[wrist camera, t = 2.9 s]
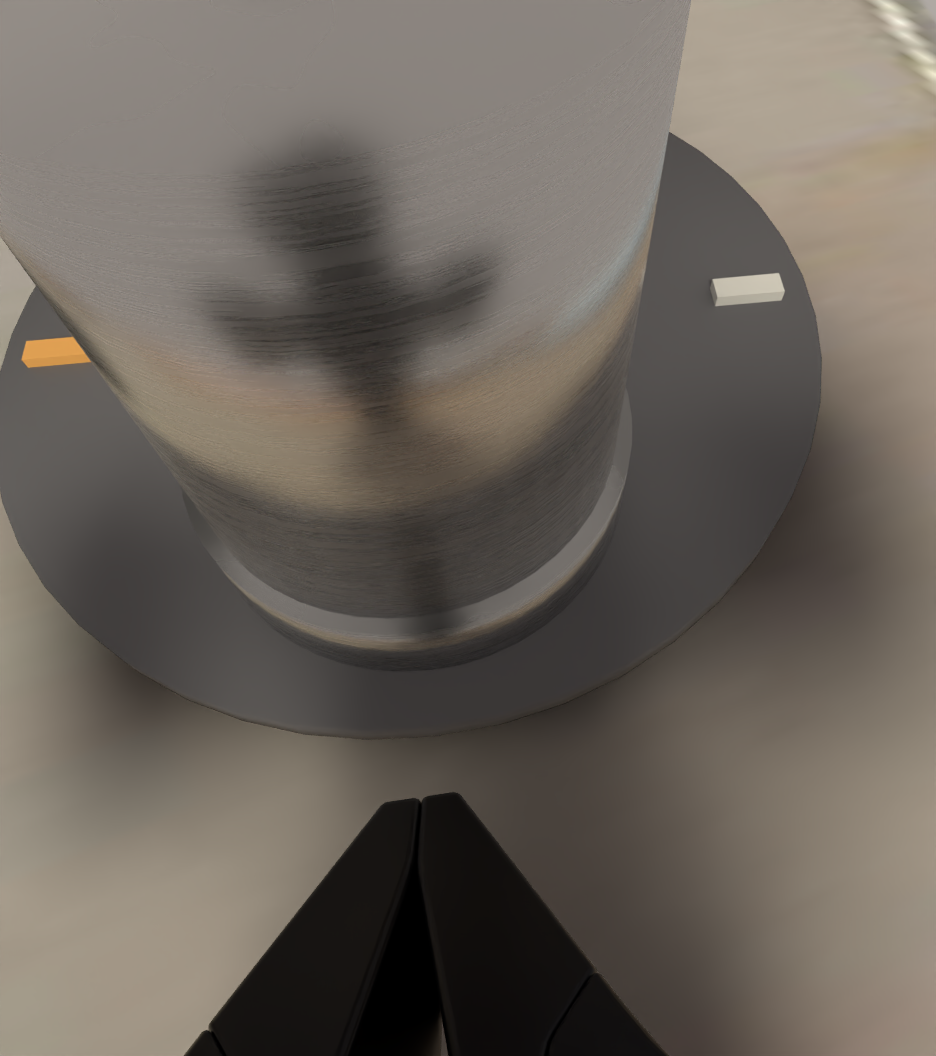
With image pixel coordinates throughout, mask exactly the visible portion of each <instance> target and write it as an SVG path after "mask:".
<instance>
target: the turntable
mask: <svg viewBox="0 0 936 1056" xmlns="http://www.w3.org/2000/svg"><path fill="white" fill-rule="evenodd" d="M821 363H822V357H821V350H820V343H819V336H818V329H817V322H816V315H815V312H814V309H813V306H812V303H811V300H810V297H809V294H808V291H807V288H806V284H805V281H804V278H803V275H802V273H801V271H800V270H799V268H798V266H797V264H796V262H795V260H794V258H793V256H792V254H791V252H790V250H789V248H788V246H787V244H786V242H785V240H784V239H783V237H782V236H781V234H780V233H779V232H778V230H777V229H776V227H775V226H774V225H773V223H772V222H771V221H770V219H769V218H768V216H767V215H766V214H765V212H764V211H763V209H762V208H761V207H760V205H759V204H758V203H757V202H756V201H755V200H754V199H753V198H752V197H751V196H750V195H749V194H748V193H747V192H746V191H745V190H744V189H743V188H742V187H741V186H740V185H739V184H738V183H737V182H736V181H735V179H734V178H733V177H732V176H730V175H729V174H728V173H727V172H725V171H724V170H723V169H722V168H720V167H719V166H718V165H717V164H715V163H714V162H713V161H712V160H710V159H709V158H708V157H707V156H705V155H704V154H703V153H702V152H700V151H699V150H697V149H696V148H694V147H693V146H691V145H689V144H688V143H686V142H685V141H683V140H681V139H680V138H678V137H677V136H675V135H673V134H672V133H670V132H669V134H668V139H667V145H666V151H665V157H664V163H663V169H662V175H661V181H660V187H659V193H658V199H657V204H656V210H655V216H654V222H653V228H652V234H651V240H650V246H649V252H648V258H647V263H646V269H645V275H644V281H643V287H642V293H641V299H640V305H639V311H638V317H637V323H636V328H635V334H634V340H633V346H632V352H631V358H630V364H629V370H628V376H627V382H626V390H627V393H628V397H629V403H630V409H631V415H632V447H631V453H630V460H629V466H628V471H627V476H626V481H625V486H624V491H623V496H622V501H621V506H620V511H619V516H618V521H617V524H616V527H615V530H614V533H613V536H612V539H611V542H610V545H609V547H608V549H607V551H606V553H605V555H604V557H603V559H602V561H601V563H600V565H599V567H598V568H597V570H596V571H595V573H594V574H593V576H592V577H591V578H590V580H589V581H588V583H587V584H586V586H585V587H584V589H583V590H582V591H581V592H580V593H579V594H578V595H577V596H576V597H575V598H574V599H573V601H572V602H571V603H570V604H569V605H568V606H567V607H566V608H565V609H564V610H563V611H562V612H561V613H559V614H558V615H557V616H556V617H555V618H553V619H552V620H551V621H550V622H548V623H547V624H546V625H545V626H544V627H542V628H541V629H539V630H538V631H536V632H534V633H533V634H531V635H530V636H528V637H526V638H525V639H523V640H522V641H520V642H518V643H517V644H514V645H512V646H510V647H508V648H506V649H504V650H501V651H499V652H497V653H495V654H493V655H491V656H488V657H484V658H481V659H478V660H475V661H472V662H469V663H465V664H462V665H457V666H452V667H446V668H441V669H436V670H426V671H409V672H396V671H382V670H370V669H366V668H361V667H356V666H351V665H346V664H342V663H339V662H336V661H333V660H330V659H328V658H325V657H322V656H319V655H316V654H314V653H312V652H310V651H308V650H307V649H305V648H303V647H301V646H299V645H297V644H295V643H293V642H291V641H290V640H288V639H287V638H286V637H284V636H283V635H281V634H280V633H279V632H277V631H276V630H274V629H273V628H272V627H270V626H269V625H268V624H267V623H266V622H265V621H264V620H263V619H262V618H261V617H260V616H259V615H258V614H257V613H256V612H255V611H254V610H253V609H252V608H251V607H250V606H249V604H248V603H247V602H246V601H245V599H244V598H243V597H242V595H241V594H240V593H239V591H238V590H237V589H236V588H235V586H234V585H233V584H232V582H231V581H230V580H229V579H228V577H227V576H226V575H225V573H224V572H223V571H222V569H221V568H220V567H219V566H218V564H217V563H216V562H215V560H214V559H213V558H212V556H211V555H210V554H209V552H208V551H207V550H206V548H205V547H204V546H203V544H202V542H201V540H200V538H199V537H198V535H197V533H196V531H195V529H194V527H193V525H192V523H191V521H190V518H189V515H188V512H187V509H186V506H185V503H184V500H183V495H182V489H181V485H180V484H179V483H178V481H177V480H176V479H175V477H174V476H173V474H172V473H171V472H170V470H169V469H168V467H167V466H166V465H165V463H164V462H163V461H162V459H161V458H160V456H159V455H158V454H157V452H156V451H155V450H154V448H153V447H152V445H151V444H150V443H149V441H148V440H147V438H146V437H145V436H144V434H143V433H142V432H141V430H140V429H139V427H138V426H137V425H136V423H135V422H134V420H133V419H132V418H131V416H130V415H129V414H128V412H127V411H126V409H125V408H124V407H123V405H122V404H121V402H120V401H119V400H118V398H117V397H116V396H115V394H114V393H113V391H112V390H111V389H110V387H109V386H108V384H107V383H106V382H105V380H104V379H103V378H102V376H101V375H100V373H99V372H98V371H97V369H96V368H95V366H94V365H93V364H92V362H91V361H90V360H89V358H88V357H87V355H86V354H85V353H84V351H83V350H82V348H81V347H80V346H79V344H78V343H77V342H76V340H75V339H74V337H73V336H72V335H71V333H70V332H69V330H68V329H67V328H66V326H65V325H64V324H63V322H62V321H61V319H60V318H59V317H58V315H57V314H56V312H55V311H54V310H53V308H52V307H51V306H50V304H49V303H48V301H47V300H46V299H45V297H44V296H43V294H42V293H41V292H40V290H39V289H38V288H37V286H36V287H35V289H34V290H33V292H32V293H31V295H30V297H29V299H28V301H27V303H26V305H25V307H24V309H23V312H22V314H21V316H20V318H19V320H18V322H17V324H16V326H15V329H14V331H13V333H12V335H11V339H10V342H9V345H8V348H7V352H6V355H5V358H4V361H3V365H2V368H1V371H0V492H1V497H2V502H3V505H4V508H5V510H6V513H7V515H8V518H9V520H10V523H11V526H12V528H13V531H14V533H15V536H16V538H17V541H18V544H19V546H20V548H21V549H22V551H23V552H24V554H25V556H26V557H27V559H28V561H29V562H30V564H31V565H32V567H33V569H34V570H35V572H36V574H37V575H38V577H39V578H40V580H41V582H42V583H43V585H44V586H45V588H46V589H47V590H48V591H49V592H50V593H51V594H52V596H53V597H54V598H55V599H56V600H57V601H58V602H59V603H60V605H61V606H62V607H63V608H64V609H65V610H66V611H67V612H68V613H69V615H70V616H71V617H72V618H73V619H74V620H75V621H76V622H77V624H78V625H79V626H81V627H82V628H83V629H84V630H86V631H87V632H88V633H89V634H91V635H92V636H93V637H94V638H96V639H97V640H98V641H99V642H101V643H102V644H103V645H104V646H106V647H107V648H108V649H109V650H111V651H112V652H113V653H115V654H116V655H117V656H118V657H120V658H121V659H122V660H123V661H125V662H126V663H127V664H129V665H130V666H131V667H133V668H134V669H135V670H137V671H138V672H139V673H141V674H143V675H145V676H147V677H148V678H150V679H152V680H154V681H155V682H157V683H159V684H161V685H163V686H164V687H166V688H168V689H170V690H171V691H173V692H175V693H177V694H179V695H180V696H182V697H184V698H186V699H187V700H190V701H192V702H195V703H198V704H200V705H203V706H206V707H208V708H211V709H214V710H216V711H219V712H222V713H224V714H227V715H229V716H232V717H235V718H237V719H240V720H243V721H246V722H251V723H255V724H260V725H264V726H269V727H274V728H278V729H283V730H287V731H292V732H296V733H301V734H305V735H318V736H330V737H343V738H355V739H367V740H373V739H392V738H411V737H430V736H440V735H445V734H450V733H456V732H461V731H467V730H472V729H477V728H483V727H488V726H493V725H499V724H503V723H506V722H509V721H512V720H515V719H518V718H522V717H525V716H528V715H531V714H534V713H537V712H540V711H543V710H546V709H549V708H552V707H555V706H559V705H562V704H564V703H567V702H569V701H571V700H573V699H575V698H577V697H579V696H581V695H583V694H585V693H588V692H590V691H592V690H594V689H596V688H598V687H600V686H602V685H604V684H606V683H608V682H611V681H613V680H615V679H617V678H619V677H621V676H623V675H624V674H626V673H627V672H629V671H630V670H632V669H634V668H635V667H637V666H638V665H640V664H641V663H643V662H644V661H646V660H647V659H649V658H650V657H652V656H653V655H655V654H656V653H658V652H659V651H661V650H662V649H664V648H665V647H667V646H668V645H670V644H672V643H673V642H674V641H676V640H677V639H678V638H679V637H680V636H681V635H682V634H683V633H685V632H686V631H687V630H688V629H689V628H690V627H691V626H693V625H694V624H695V623H696V622H697V621H698V620H699V619H700V618H702V617H703V616H704V615H705V614H706V613H707V612H708V611H710V610H711V609H712V608H713V607H714V606H715V605H716V604H717V603H719V601H720V600H721V599H722V598H723V597H724V595H725V594H726V593H727V592H728V591H729V589H730V588H731V587H732V586H733V585H734V584H735V582H736V581H737V580H738V579H739V578H740V576H741V575H742V574H743V573H744V572H745V570H746V569H747V568H748V567H749V566H750V565H751V563H752V562H753V561H754V560H755V558H756V556H757V555H758V553H759V551H760V550H761V548H762V546H763V545H764V543H765V541H766V540H767V538H768V536H769V535H770V533H771V531H772V530H773V528H774V527H775V525H776V523H777V522H778V520H779V518H780V517H781V515H782V513H783V511H784V510H785V508H786V506H787V504H788V502H789V501H790V499H791V497H792V495H793V492H794V490H795V487H796V485H797V482H798V480H799V477H800V475H801V472H802V470H803V467H804V465H805V462H806V460H807V457H808V455H809V452H810V449H811V445H812V440H813V435H814V430H815V426H816V421H817V416H818V411H819V407H820V394H821Z"/></svg>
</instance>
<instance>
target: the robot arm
mask: <svg viewBox="0 0 936 1056" xmlns="http://www.w3.org/2000/svg"><path fill="white" fill-rule="evenodd" d="M442 1021H443V1027H444V1033H445V1038H446V1044H447V1050H448V1055H449V1056H669V1055H668V1054H667V1053H666V1052H665V1051H664V1050H663V1049H662V1048H661V1047H660V1045H659V1044H658V1043H657V1042H656V1041H655V1040H654V1039H653V1038H652V1037H651V1035H650V1034H649V1033H648V1032H647V1031H646V1029H645V1028H644V1027H643V1026H642V1025H641V1024H640V1022H639V1021H638V1020H637V1019H636V1018H635V1016H634V1015H633V1014H632V1013H631V1012H630V1010H629V1009H628V1008H627V1007H626V1006H625V1005H624V1003H623V1002H622V1001H621V1000H620V998H619V997H618V996H617V995H616V993H615V992H614V991H613V989H612V988H611V987H610V986H609V984H608V983H607V982H606V980H605V979H604V978H603V977H602V975H601V974H599V973H597V971H596V968H595V967H594V966H593V964H592V963H591V962H590V960H589V959H588V958H587V957H586V955H585V954H584V953H583V951H582V950H581V949H580V948H579V946H578V945H577V944H576V942H575V941H574V940H573V939H572V937H571V936H570V935H569V933H568V932H567V931H566V930H565V928H564V927H563V926H562V925H561V923H560V922H559V921H558V919H557V918H556V917H555V916H554V914H553V913H552V912H551V910H550V909H549V908H548V907H547V905H546V904H545V903H544V901H543V900H542V899H541V898H540V896H539V895H538V894H537V892H536V891H535V890H534V889H533V887H532V886H531V885H530V883H529V882H528V881H527V880H526V878H525V877H524V876H523V874H522V873H521V872H520V871H519V869H518V868H517V867H516V865H515V864H514V863H513V862H512V860H511V859H510V858H509V856H508V855H507V854H506V853H505V851H504V850H503V849H502V847H501V846H500V845H499V844H498V842H497V841H496V840H495V838H494V837H493V836H492V835H491V833H490V832H489V831H488V829H487V828H486V827H485V826H484V824H483V823H482V822H481V820H480V819H479V818H478V817H477V815H476V814H475V813H474V811H473V810H472V809H471V808H470V806H469V805H468V804H467V803H466V801H465V800H464V799H463V797H462V796H461V795H460V794H458V793H456V792H452V793H445V794H439V795H432V796H427V797H425V798H424V799H423V800H422V803H421V802H420V800H419V799H417V798H412V799H405V800H398V801H391V802H386V803H384V804H383V805H381V806H380V808H379V809H378V810H377V811H376V813H375V814H374V815H373V817H372V818H371V819H370V820H369V822H368V823H367V824H366V825H365V827H364V828H363V829H362V830H361V832H360V833H359V834H358V836H357V837H356V838H355V839H354V841H353V842H352V843H351V844H350V846H349V847H348V848H347V850H346V851H345V852H344V853H343V855H342V856H341V857H340V858H339V860H338V861H337V862H336V863H335V865H334V866H333V867H332V869H331V870H330V871H329V872H328V874H327V875H326V876H325V877H324V879H323V880H322V881H321V883H320V884H319V885H318V886H317V888H316V889H315V890H314V891H313V893H312V894H311V895H310V897H309V898H308V899H307V900H306V902H305V903H304V904H303V905H302V907H301V908H300V909H299V910H298V912H297V913H296V914H295V916H294V917H293V918H292V919H291V921H290V922H289V923H288V924H287V926H286V927H285V928H284V930H283V931H282V932H281V933H280V935H279V936H278V937H277V938H276V940H275V941H274V942H273V943H272V945H271V946H270V947H269V949H268V950H267V951H266V952H265V954H264V955H263V956H262V957H261V959H260V960H259V961H258V963H257V964H256V965H255V966H254V968H253V969H252V970H251V971H250V973H249V974H248V975H247V976H246V978H245V979H244V980H243V982H242V983H241V984H240V985H239V987H238V988H237V989H236V990H235V992H234V993H233V994H232V996H231V997H230V998H229V999H228V1001H227V1002H226V1003H225V1004H224V1006H223V1007H222V1008H221V1009H220V1011H219V1012H218V1013H217V1015H216V1016H215V1017H214V1018H213V1020H212V1021H211V1022H210V1024H209V1031H208V1030H205V1031H203V1032H202V1033H201V1034H200V1036H199V1037H198V1038H197V1039H196V1041H195V1042H194V1043H193V1045H192V1046H191V1047H190V1048H189V1050H188V1051H187V1052H186V1053H185V1055H184V1056H441V1034H442Z"/></svg>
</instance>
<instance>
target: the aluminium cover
mask: <svg viewBox="0 0 936 1056" xmlns="http://www.w3.org/2000/svg"><path fill="white" fill-rule="evenodd" d="M690 4H691V0H0V236H1V238H2V239H3V241H4V242H5V243H6V245H7V246H8V247H9V249H10V250H11V252H12V253H13V254H14V256H15V257H16V259H17V260H18V261H19V263H20V264H21V265H22V267H23V268H24V270H25V271H26V272H27V274H28V275H29V277H30V278H31V279H32V281H33V282H34V283H35V285H36V286H37V288H38V289H39V290H40V292H41V293H42V294H43V296H44V297H45V299H46V300H47V301H48V303H49V304H50V306H51V307H52V308H53V310H54V311H55V312H56V314H57V315H58V317H59V318H60V319H61V321H62V322H63V324H64V325H65V326H66V328H67V329H68V330H69V332H70V333H71V335H72V336H73V337H74V339H75V340H76V342H77V343H78V344H79V346H80V347H81V348H82V350H83V351H84V353H85V354H86V355H87V357H88V358H89V360H90V361H91V362H92V364H93V365H94V366H95V368H96V369H97V371H98V372H99V373H100V375H101V376H102V378H103V379H104V380H105V382H106V383H107V384H108V386H109V387H110V389H111V390H112V391H113V393H114V394H115V396H116V397H117V398H118V400H119V401H120V402H121V404H122V405H123V407H124V408H125V409H126V411H127V412H128V414H129V415H130V416H131V418H132V419H133V420H134V422H135V423H136V425H137V426H138V427H139V429H140V430H141V432H142V433H143V434H144V436H145V437H146V438H147V440H148V441H149V443H150V444H151V445H152V447H153V448H154V450H155V451H156V452H157V454H158V455H159V456H160V458H161V459H162V461H163V462H164V463H165V465H166V466H167V467H168V469H169V470H170V472H171V473H172V474H173V476H174V477H175V479H176V480H177V481H178V483H179V484H180V485H181V489H182V495H183V500H184V503H185V506H186V509H187V512H188V515H189V518H190V521H191V523H192V525H193V527H194V529H195V531H196V533H197V535H198V537H199V538H200V540H201V542H202V544H203V546H204V547H205V548H206V550H207V551H208V552H209V554H210V555H211V556H212V558H213V559H214V560H215V562H216V563H217V564H218V566H219V567H220V568H221V569H222V571H223V572H224V573H225V575H226V576H227V577H228V579H229V580H230V581H231V582H232V584H233V585H234V586H235V588H236V589H237V590H238V591H239V593H240V594H241V595H242V597H243V598H244V599H245V601H246V602H247V603H248V604H249V606H250V607H251V608H252V609H253V610H254V611H255V612H256V613H257V614H258V615H259V616H260V617H261V618H262V619H263V620H264V621H265V622H266V623H267V624H268V625H269V626H270V627H272V628H273V629H274V630H276V631H277V632H279V633H280V634H281V635H283V636H284V637H286V638H287V639H288V640H290V641H291V642H293V643H295V644H297V645H299V646H301V647H303V648H305V649H307V650H308V651H310V652H312V653H314V654H316V655H319V656H322V657H325V658H328V659H330V660H333V661H336V662H339V663H342V664H346V665H351V666H356V667H361V668H366V669H370V670H382V671H396V672H409V671H426V670H436V669H441V668H446V667H452V666H457V665H462V664H465V663H469V662H472V661H475V660H478V659H481V658H484V657H488V656H491V655H493V654H495V653H497V652H499V651H501V650H504V649H506V648H508V647H510V646H512V645H514V644H517V643H518V642H520V641H522V640H523V639H525V638H526V637H528V636H530V635H531V634H533V633H534V632H536V631H538V630H539V629H541V628H542V627H544V626H545V625H546V624H547V623H548V622H550V621H551V620H552V619H553V618H555V617H556V616H557V615H558V614H559V613H561V612H562V611H563V610H564V609H565V608H566V607H567V606H568V605H569V604H570V603H571V602H572V601H573V599H574V598H575V597H576V596H577V595H578V594H579V593H580V592H581V591H582V590H583V589H584V587H585V586H586V584H587V583H588V581H589V580H590V578H591V577H592V576H593V574H594V573H595V571H596V570H597V568H598V567H599V565H600V563H601V561H602V559H603V557H604V555H605V553H606V551H607V549H608V547H609V545H610V542H611V539H612V536H613V533H614V530H615V527H616V524H617V521H618V516H619V511H620V506H621V501H622V496H623V491H624V486H625V481H626V476H627V471H628V466H629V460H630V453H631V447H632V415H631V409H630V403H629V397H628V393H627V390H626V382H627V376H628V370H629V364H630V358H631V352H632V346H633V340H634V334H635V328H636V323H637V317H638V311H639V305H640V299H641V293H642V287H643V281H644V275H645V269H646V263H647V258H648V252H649V246H650V240H651V234H652V228H653V222H654V216H655V210H656V204H657V199H658V193H659V187H660V181H661V175H662V169H663V163H664V157H665V151H666V145H667V139H668V134H669V128H670V122H671V116H672V110H673V104H674V98H675V92H676V86H677V80H678V74H679V69H680V63H681V57H682V51H683V45H684V39H685V33H686V27H687V21H688V15H689V9H690Z"/></svg>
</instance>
